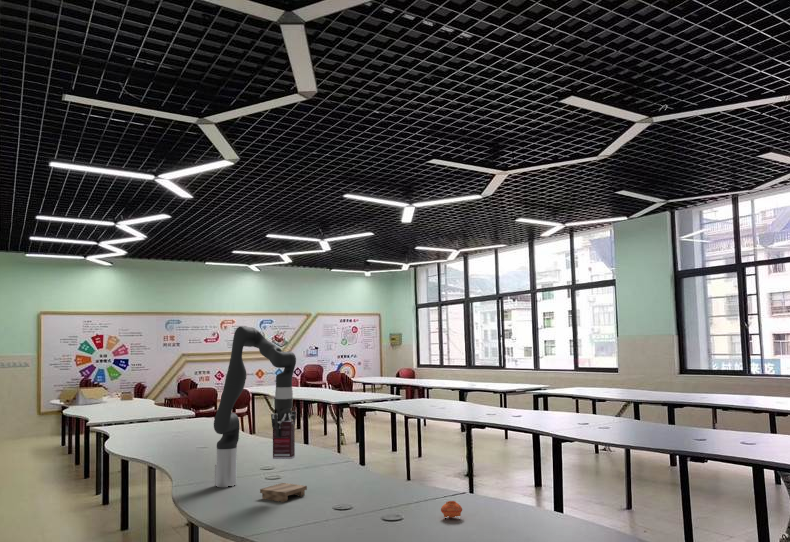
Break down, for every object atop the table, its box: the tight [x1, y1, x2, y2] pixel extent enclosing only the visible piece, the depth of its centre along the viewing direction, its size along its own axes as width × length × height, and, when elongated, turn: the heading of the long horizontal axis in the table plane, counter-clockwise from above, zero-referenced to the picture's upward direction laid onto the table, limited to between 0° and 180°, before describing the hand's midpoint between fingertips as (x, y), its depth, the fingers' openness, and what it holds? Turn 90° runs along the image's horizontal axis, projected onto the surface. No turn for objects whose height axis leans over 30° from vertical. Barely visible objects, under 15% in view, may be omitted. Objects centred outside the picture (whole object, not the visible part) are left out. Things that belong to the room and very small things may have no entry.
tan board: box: [259, 482, 308, 503], centre depth 268 cm, size 14×14×4 cm
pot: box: [440, 500, 463, 518], centre depth 230 cm, size 8×8×7 cm
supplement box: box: [272, 420, 296, 460], centre depth 271 cm, size 9×5×16 cm, turn 78°
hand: (283, 436), depth 271 cm, fingers closed on supplement box, 5 cm apart
